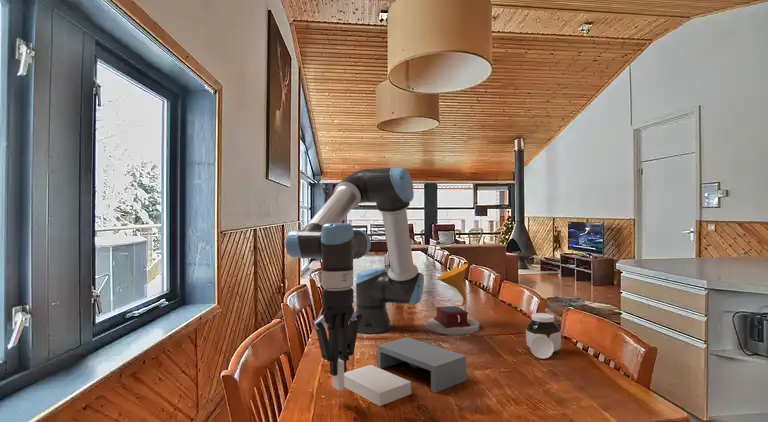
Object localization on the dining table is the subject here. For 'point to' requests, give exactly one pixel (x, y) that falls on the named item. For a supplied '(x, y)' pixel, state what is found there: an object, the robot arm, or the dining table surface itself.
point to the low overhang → (425, 361)
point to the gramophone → (453, 308)
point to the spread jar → (543, 335)
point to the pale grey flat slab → (376, 384)
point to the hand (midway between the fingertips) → (338, 387)
